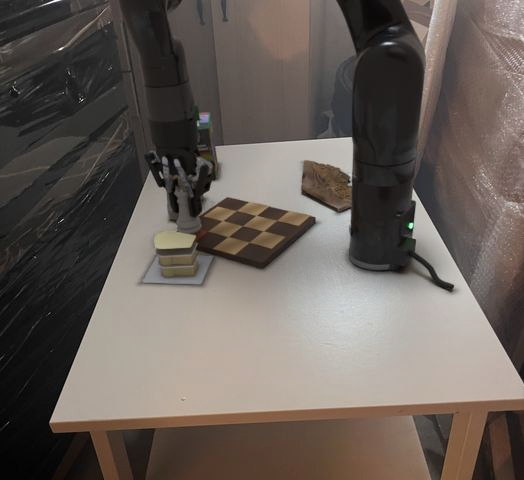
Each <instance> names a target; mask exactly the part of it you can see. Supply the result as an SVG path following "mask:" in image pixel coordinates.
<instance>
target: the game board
mask: <svg viewBox="0 0 524 480" xmlns="http://www.w3.org/2000/svg"><path fill="white" fill-rule="evenodd" d="M198 217H199V218H200V220H201V222H200V223H201V225H202V226H201V229H200V230H199V231H198V232H196V233H194V234H191V235H196V237H195V239H194V241H193V242H197V246H196V251H199V252H202V253H205V254H208V255H209V254H210V255H211V256H216V257H218V258H219V257H220V258H223V259H226V260H230V261H233V262H236V263H240V264H243V265H248V266H250V267H255V268H257V269H261V270H263V269H264V268H266V266H268V265H269V264H270V263H271V262H272V261H274V260H275V259H276V258H277V257H278V256H279V255H281V254H282V253H283V252H284V251H285V250H286V249H288V248H289V247H290V246H291V245H292V244H293V243H294V242H295V241H296V240H298V239H299V238H300V237H301V236H302V235H303V234H305V233H306V232H307V231H308V230H310V228H312V227H313V226H314V225H315V224H316V221H317V219H316V216H313V215H310V214H307V213H302V212H298V211H294V210H287V209H282V208H278V207H274V206H270V205H267V204H264V203H263V204H262V203H258V202H254V201H246V200H242V199H239V198H233V197H229V196H226V197H225V198H224V199H222V200H221V201H219V202H218V203H216V204H215V205H212V207H210V208H209V209H207V210H206V211H204V212H203V213H202V214H201V213H200V215H198ZM175 232H179V231H178V230H177V231H175Z"/></svg>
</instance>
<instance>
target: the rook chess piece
mask: <svg viewBox="0 0 524 480" xmlns="http://www.w3.org/2000/svg"><path fill="white" fill-rule="evenodd" d="M175 188H176V190H175V192H174V194H175V195H176V196H177V197H178V200H177V203H178V204H179V216H178V220H176V223H175V224H176V226H177V227H176V230H177V231H179V232H180V233H186V234H194V233H196V232H198V231H199V230H200V229H201V226H202V225H201V223H200V222H201V220H200V218H199V215H198V216H197V217H195V218H194V217H191V216H190V212H189V205H188V199H187V198H188V195H187V191H186V188H185V186H184V185H183V186H181V185H180V184H179V185H178V186H176V187H175Z"/></svg>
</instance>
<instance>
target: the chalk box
mask: <svg viewBox="0 0 524 480" xmlns="http://www.w3.org/2000/svg"><path fill="white" fill-rule="evenodd" d="M195 111H196V119H197V126H198V134H199V138H198V142H197V147H198V149H199V151H200V154H201V157H202V158H203V159H205V160H206V161H208V162H209V161H210V160H213V161H214V162H215V169H214V174H213V178H212V181H213V180H214V181H215V180H216V179H217V174H218V163H219V162H218V156H217V155H218V154H217V149H216V141H215V134H214V127H213V121H212V114H211V112H210V111H205V112H199V106H198V105H197V104H195Z"/></svg>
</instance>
